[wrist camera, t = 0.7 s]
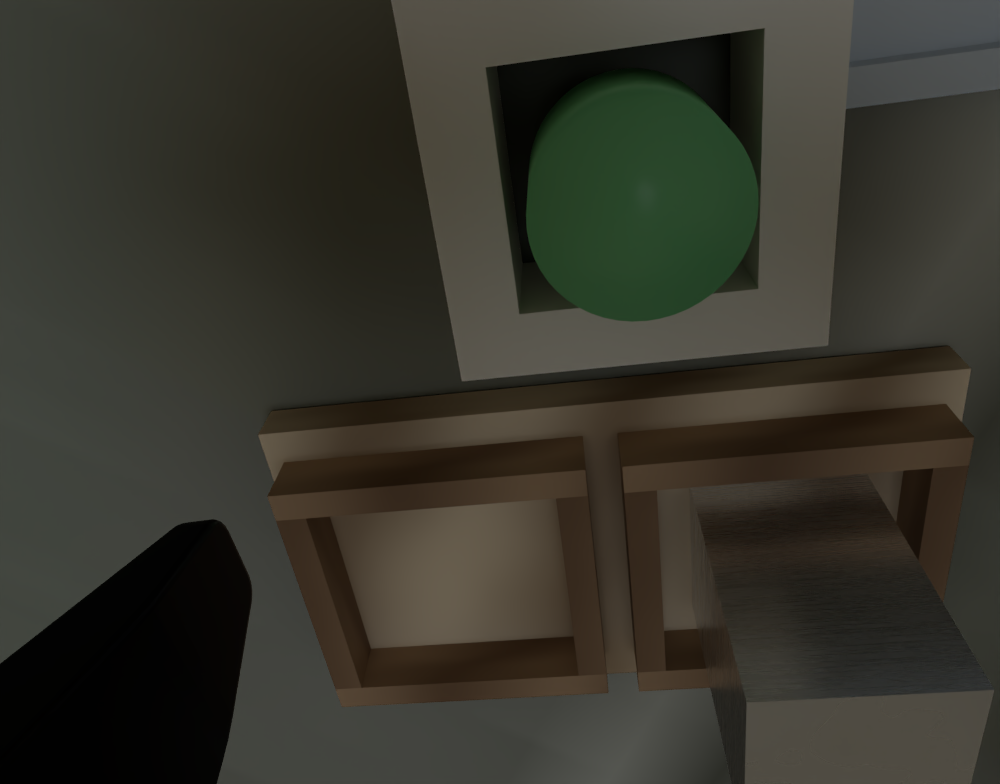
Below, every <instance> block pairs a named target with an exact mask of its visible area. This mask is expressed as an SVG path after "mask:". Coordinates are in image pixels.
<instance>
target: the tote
mask: <svg viewBox="0 0 1000 784" xmlns="http://www.w3.org/2000/svg"><path fill="white" fill-rule="evenodd" d="M997 89H1000V0H854V6H853V20H852V33H851V46H850V60H849V73H848V87H847V100H846V109H850V108H857V107H865V106H873V105H881V104H888V103H896V102H904V101H912V100H919V99H927V98H935V97H943V96H950V95H958V94H966V93H974V92H982V91H989V90H997Z"/></svg>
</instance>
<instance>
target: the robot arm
mask: <svg viewBox="0 0 1000 784" xmlns="http://www.w3.org/2000/svg"><path fill="white" fill-rule="evenodd" d="M251 603H252V585H251V581H250V577H249V574H248V572H247V570H246V568H245V566H244V564H243V561H242V559H241V557H240V555H239V553H238V551H237V549H236V546H235V544H234V542H233V540H232V538H231V536H230V534H229V531H228V530H227V528H226V526H225V525H224V524H223V523H222V522H220V521H218V520H213V519H212V520H204V521H196V522H188V523H182V524H180V525H177V526H176V527H174V528H173V529H172V530H170V531H169V532H168V533H167V534H165V535H164V536H163V537H161V538H160V539H159V540H158V541H156V542H155V543H154V544H152V545H151V546H150V547H149V548H147V549H146V550H145V551H144V552H142V553H141V554H140V555H138V556H137V557H136V558H135V559H133V560H132V561H131V562H129V563H128V564H127V565H126V566H124V567H123V568H122V569H121V570H119V571H118V572H117V573H115V574H114V575H113V576H112V577H110V578H109V579H108V580H107V581H105V582H104V583H103V584H101V585H100V586H99V587H98V588H96V589H95V590H94V591H92V592H91V593H90V594H89V595H87V596H86V597H85V598H84V599H82V600H81V601H80V602H78V603H77V604H76V605H75V606H73V607H72V608H71V609H69V610H68V611H67V612H66V613H64V614H63V615H62V616H61V617H59V618H58V619H57V620H55V621H54V622H53V623H52V624H50V625H49V626H48V627H46V628H45V629H44V630H43V631H41V632H40V633H39V634H38V635H36V636H35V637H34V638H32V639H31V640H30V641H29V642H27V643H26V644H25V645H24V646H22V647H21V648H20V649H18V650H17V651H16V652H15V653H13V654H12V655H11V656H9V657H8V658H7V659H6V660H4V661H3V662H2V663H1V664H0V784H217V780H218V777H219V773H220V770H221V766H222V762H223V758H224V754H225V750H226V746H227V742H228V738H229V733H230V728H231V723H232V718H233V712H234V706H235V700H236V694H237V688H238V681H239V675H240V669H241V663H242V657H243V651H244V645H245V639H246V633H247V627H248V621H249V615H250V609H251Z"/></svg>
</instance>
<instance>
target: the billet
mask: <svg viewBox="0 0 1000 784" xmlns="http://www.w3.org/2000/svg"><path fill="white" fill-rule="evenodd" d="M690 528H691V569H692V606H693V610H694V615H695V619H696V624H697V628H698V633H699V638H700V642H701V647H702V651H703V656H704V661H705V665H706V670H707V674H708V679H709V683H710V688H711V693H712V697H713V702H714V706H715V711H716V716H717V720H718V725H719V729H720V734H721V738H722V743H723V748H724V752H725V757H726V761H727V766H728V770H729V775H730V780H731V784H971V781H972V777H973V773H974V769H975V765H976V761H977V757H978V754H979V750H980V746H981V742H982V738H983V734H984V730H985V726H986V722H987V718H988V714H989V710H990V706H991V702H992V698H993V694H994V688H993V687H992V685H991V683H990V682H989V680H988V678H987V676H986V675H985V673H984V671H983V670H982V668H981V666H980V665H979V663H978V661H977V660H976V658H975V656H974V654H973V653H972V651H971V649H970V648H969V646H968V644H967V643H966V641H965V639H964V637H963V636H962V634H961V632H960V631H959V629H958V627H957V626H956V624H955V622H954V620H953V619H952V617H951V615H950V614H949V612H948V610H947V609H946V607H945V605H944V603H943V602H942V600H941V598H940V597H939V595H938V593H937V592H936V590H935V588H934V586H933V585H932V583H931V581H930V580H929V578H928V576H927V575H926V573H925V571H924V570H923V568H922V566H921V564H920V563H919V561H918V559H917V558H916V556H915V554H914V553H913V551H912V549H911V547H910V546H909V544H908V542H907V541H906V539H905V537H904V536H903V534H902V532H901V530H900V529H899V527H898V525H897V524H896V522H895V520H894V519H893V517H892V515H891V513H890V512H889V510H888V508H887V507H886V505H885V503H884V502H883V500H882V498H881V497H880V495H879V493H878V491H877V490H876V488H875V486H874V485H873V483H872V481H871V480H870V478H869V476H868V474H855V475H843V476H830V477H818V478H805V479H793V480H780V481H768V482H755V483H743V484H730V485H718V486H705V487H693V488H690Z"/></svg>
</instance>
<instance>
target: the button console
mask: <svg viewBox="0 0 1000 784" xmlns="http://www.w3.org/2000/svg"><path fill="white" fill-rule="evenodd" d="M391 3H392V8H393V13H394V19H395V24H396V29H397V35H398V40H399V46H400V51H401V56H402V62H403V67H404V73H405V78H406V83H407V89H408V94H409V99H410V105H411V110H412V116H413V121H414V126H415V132H416V137H417V143H418V148H419V153H420V159H421V164H422V169H423V175H424V180H425V186H426V191H427V196H428V202H429V207H430V213H431V218H432V223H433V229H434V234H435V239H436V245H437V250H438V256H439V261H440V266H441V272H442V277H443V283H444V288H445V293H446V299H447V304H448V309H449V315H450V320H451V326H452V331H453V336H454V342H455V347H456V353H457V358H458V363H459V369H460V374H461V379H462V381H472V380H482V379H492V378H502V377H513V376H523V375H533V374H543V373H554V372H564V371H574V370H584V369H594V368H605V367H615V366H625V365H635V364H646V363H656V362H666V361H676V360H687V359H697V358H707V357H717V356H728V355H738V354H748V353H758V352H769V351H779V350H789V349H799V348H810V347H820V346H828V340H829V327H830V314H831V300H832V287H833V274H834V260H835V247H836V234H837V220H838V207H839V193H840V180H841V167H842V153H843V140H844V127H845V113H846V100H847V87H848V73H849V60H850V46H851V33H852V20H853V6H854V0H391ZM726 33H730V130H731V131H732V132H733V133H734V134H735V135H736V137H737V138H738V140H739V141H740V142H741V144H742V145H743V147H744V148H745V150H746V152H747V154H748V156H749V158H750V160H751V163H752V166H753V169H754V172H755V175H756V181H757V186H758V200H759V205H758V216H757V222H756V226H755V231H754V234H753V237H752V240H751V242H750V245H749V247H748V249H747V251H746V253H745V255H744V257H743V259H742V261H741V262H740V264H739V265H738V267H737V268H736V269H735V271H734V272H733V274H732V275H731V276H730V277H729V278H728V279H727V280H726V281H725V283H724V284H723V285H722V286H720V287H719V288H718V289H717V290H716V291H715V292H714V293H713V294H711V295H710V296H708V297H707V298H706V299H704V300H703V301H701V302H700V303H698V304H696V305H694V306H693V307H691V308H689V309H687V310H685V311H682V312H680V313H677V314H675V315H672V316H668V317H664V318H661V319H655V320H649V321H634V322H631V321H618V320H613V319H608V318H603V317H600V316H597V315H594V314H591V313H589V312H587V311H585V310H583V309H581V308H579V307H577V306H576V305H574V304H572V303H571V302H569V301H568V300H567V299H565V298H564V297H563V296H562V295H561V294H559V293H558V292H557V291H556V290H555V289H554V288H553V286H552V285H551V284H550V283H549V282H548V281H547V279H546V278H545V276H544V275H543V273H542V272H541V271H540V269H539V267H538V265H537V263H536V262H529V263H523V262H522V254H521V247H520V239H519V232H518V224H517V216H516V209H515V201H514V193H513V186H512V178H511V171H510V163H509V155H508V148H507V140H506V132H505V125H504V117H503V110H502V102H501V94H500V87H499V79H498V71H497V66H500V65H507V64H514V63H521V62H528V61H535V60H542V59H549V58H556V57H563V56H571V55H578V54H585V53H592V52H599V51H606V50H613V49H620V48H627V47H634V46H641V45H649V44H656V43H663V42H670V41H677V40H684V39H691V38H698V37H705V36H712V35H719V34H726Z"/></svg>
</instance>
